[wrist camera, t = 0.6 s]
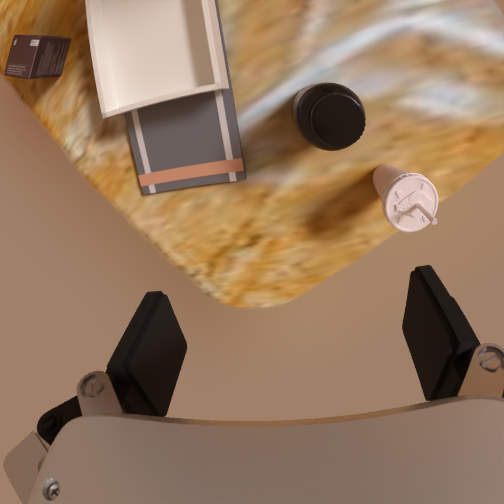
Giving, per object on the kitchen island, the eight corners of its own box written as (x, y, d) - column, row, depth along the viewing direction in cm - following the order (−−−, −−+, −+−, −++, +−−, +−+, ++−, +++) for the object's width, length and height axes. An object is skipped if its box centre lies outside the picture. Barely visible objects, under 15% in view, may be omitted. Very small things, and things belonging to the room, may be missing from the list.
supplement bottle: (306, 146, 36) (317, 172, 26) (281, 97, 33) (281, 101, 23) (356, 125, 34) (388, 142, 23) (332, 75, 31) (356, 69, 21)
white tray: (104, -17, 24) (83, -25, 20) (206, -51, 22) (196, -67, 18) (123, 113, 34) (102, 118, 29) (230, 88, 32) (222, 88, 27)
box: (35, 71, 32) (3, 75, 25) (45, 35, 29) (13, 34, 22) (61, 76, 32) (28, 80, 26) (73, 38, 29) (40, 35, 23)
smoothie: (409, 196, 37) (456, 246, 25) (365, 204, 39) (399, 259, 27) (404, 150, 34) (458, 185, 22) (359, 157, 36) (396, 195, 24)
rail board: (108, -22, 25) (104, -24, 24) (207, -55, 23) (205, -59, 22) (146, 192, 41) (143, 194, 40) (246, 177, 39) (245, 179, 38)
